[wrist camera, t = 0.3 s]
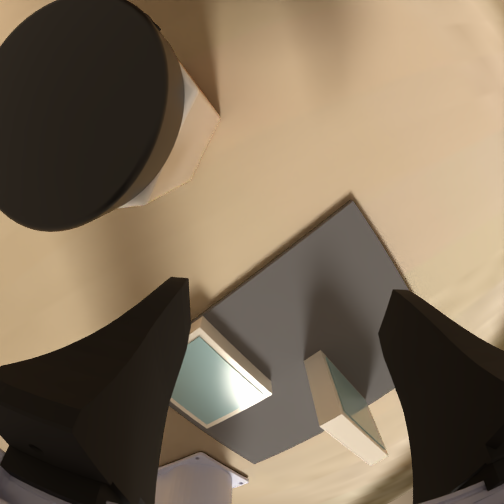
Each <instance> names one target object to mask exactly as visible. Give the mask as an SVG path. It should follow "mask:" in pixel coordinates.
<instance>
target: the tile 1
mask: <svg viewBox="0 0 504 504" xmlns="http://www.w3.org/2000/svg"><path fill="white" fill-rule="evenodd" d="M270 395H272V385H271V381H270V380H269V379H268V378H267V377H266V376H265V375H264V374H263V373H262V372H261V371H259V370H258V369H257V368H256V367H255V366H254V365H253V364H252V363H251V362H250V361H249V360H248V359H247V358H245V357H244V356H243V355H242V354H241V353H240V352H239V351H238V350H237V349H236V348H235V347H234V346H233V345H232V344H231V343H230V342H229V341H228V340H227V339H226V338H225V337H224V336H223V335H222V334H221V333H220V332H219V331H218V330H217V329H216V328H215V327H213V326H212V325H211V324H210V323H209V322H208V321H207V320H206V318H205V317H204V316H202V317H200V318H199V319H198V320H196V321H195V322H194V323H192V324H191V329H190V334H189V340H188V345H187V350H186V353H185V356H184V359H183V363H182V366H181V369H180V372H179V375H178V378H177V381H176V384H175V387H174V390H173V393H172V396H171V399H170V401H171V402H172V403H173V404H174V405H176V406H177V407H178V408H180V409H181V410H182V411H183V412H185V413H186V414H187V415H189V416H190V417H191V418H193V419H194V420H195V421H197V422H198V423H200V424H201V425H202V426H204V427H205V428H206V429H207V428H209V427H212V426H214V425H216V424H218V423H220V422H222V421H224V420H226V419H228V418H230V417H232V416H233V415H235V414H237V413H239V412H241V411H243V410H245V409H247V408H249V407H250V406H252V405H254V404H256V403H258V402H260V401H261V400H263V399H265V398H267V397H268V396H270Z"/></svg>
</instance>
